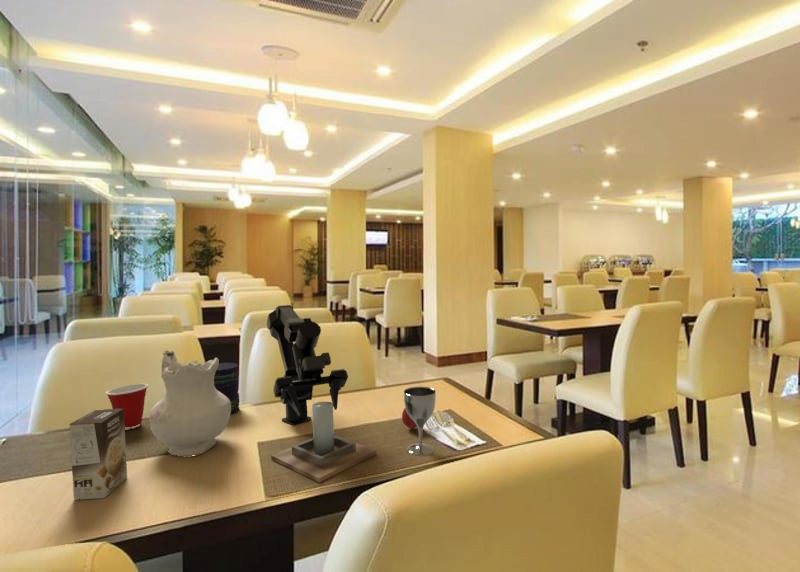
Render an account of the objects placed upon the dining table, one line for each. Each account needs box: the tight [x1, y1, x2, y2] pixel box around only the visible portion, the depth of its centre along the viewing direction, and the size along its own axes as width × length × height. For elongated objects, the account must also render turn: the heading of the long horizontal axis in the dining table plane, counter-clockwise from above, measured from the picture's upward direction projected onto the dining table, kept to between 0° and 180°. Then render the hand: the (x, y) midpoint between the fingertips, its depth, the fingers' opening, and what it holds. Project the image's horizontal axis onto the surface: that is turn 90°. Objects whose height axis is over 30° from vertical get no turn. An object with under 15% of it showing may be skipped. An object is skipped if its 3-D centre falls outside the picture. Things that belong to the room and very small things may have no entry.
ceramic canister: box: [311, 400, 335, 456], centre depth 110 cm, size 5×5×12 cm
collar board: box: [271, 434, 377, 483], centre depth 111 cm, size 18×18×3 cm
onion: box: [401, 407, 417, 430], centre depth 127 cm, size 6×6×8 cm
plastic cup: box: [105, 383, 149, 427], centre depth 133 cm, size 11×11×12 cm
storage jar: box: [214, 362, 240, 416], centre depth 144 cm, size 10×10×15 cm
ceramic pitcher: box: [148, 350, 231, 458], centre depth 117 cm, size 22×20×25 cm
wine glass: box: [403, 386, 437, 457], centre depth 113 cm, size 8×8×15 cm
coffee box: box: [69, 408, 128, 501], centre depth 97 cm, size 9×6×16 cm
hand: (318, 412), depth 113 cm, fingers open, 9 cm apart
